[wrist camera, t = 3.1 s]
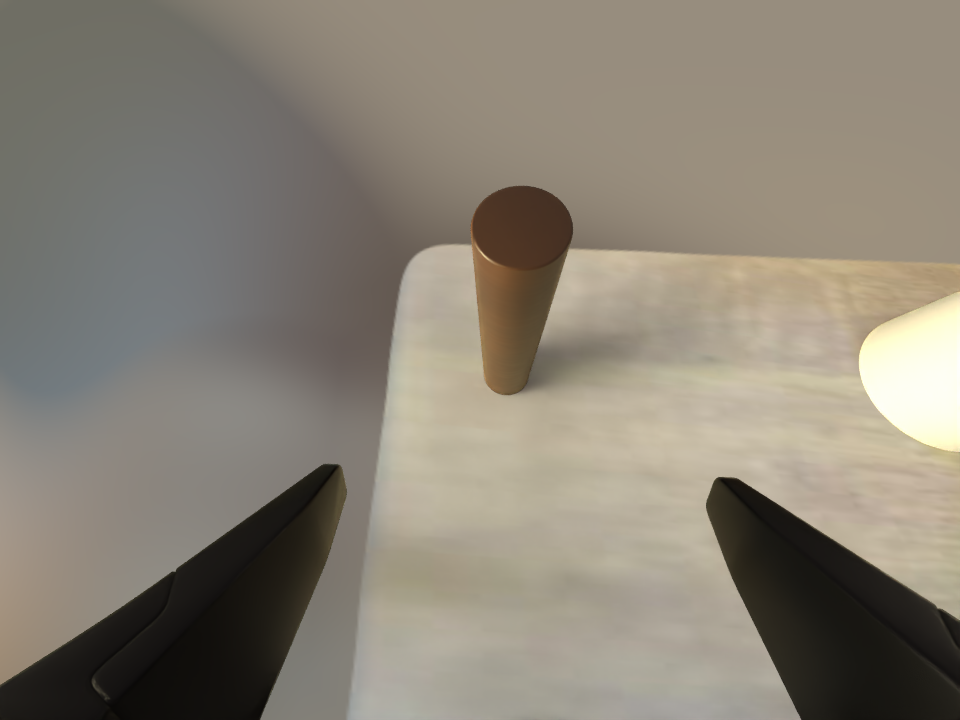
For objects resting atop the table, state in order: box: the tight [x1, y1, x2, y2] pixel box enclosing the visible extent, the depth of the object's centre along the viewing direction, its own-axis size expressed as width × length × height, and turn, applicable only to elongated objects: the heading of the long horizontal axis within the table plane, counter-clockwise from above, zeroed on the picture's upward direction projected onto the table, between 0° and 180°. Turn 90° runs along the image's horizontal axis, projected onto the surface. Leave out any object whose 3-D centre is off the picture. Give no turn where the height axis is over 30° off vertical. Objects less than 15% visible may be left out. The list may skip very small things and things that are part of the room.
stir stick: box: [471, 186, 573, 395], centre depth 17 cm, size 3×3×14 cm
